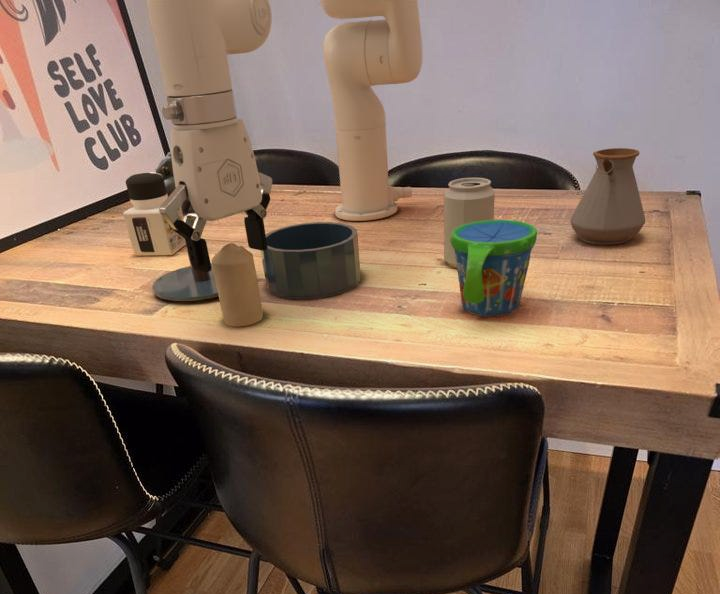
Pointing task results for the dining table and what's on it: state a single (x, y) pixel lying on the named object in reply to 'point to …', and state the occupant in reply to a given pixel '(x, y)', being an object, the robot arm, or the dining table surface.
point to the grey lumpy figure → (167, 173)
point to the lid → (186, 285)
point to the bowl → (311, 260)
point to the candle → (237, 285)
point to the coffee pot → (610, 200)
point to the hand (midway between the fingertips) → (231, 259)
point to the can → (465, 208)
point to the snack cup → (492, 264)
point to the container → (150, 217)
